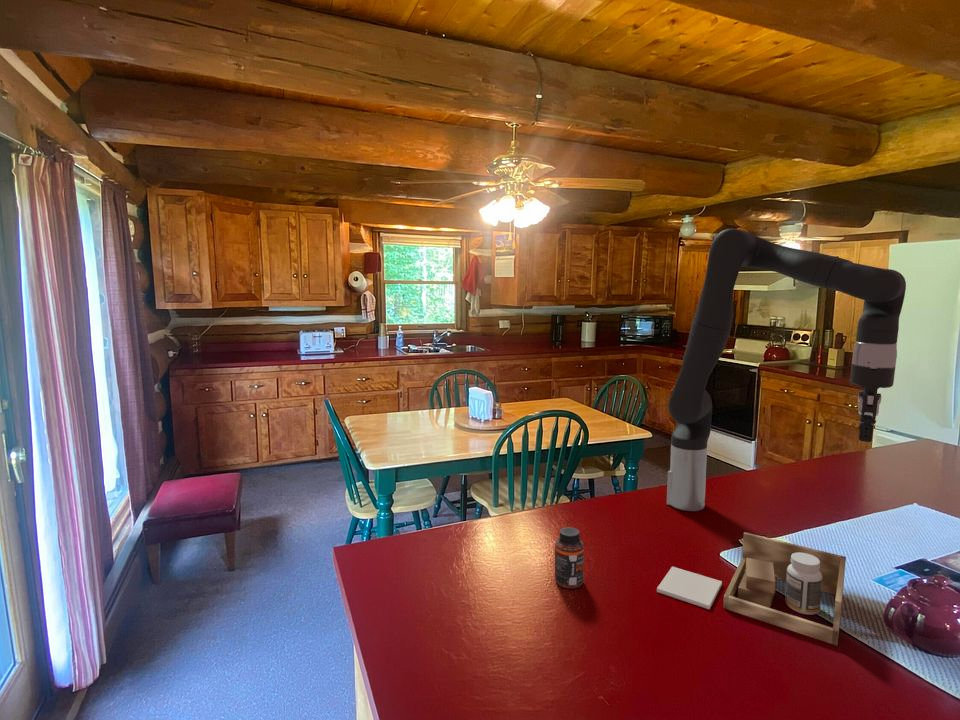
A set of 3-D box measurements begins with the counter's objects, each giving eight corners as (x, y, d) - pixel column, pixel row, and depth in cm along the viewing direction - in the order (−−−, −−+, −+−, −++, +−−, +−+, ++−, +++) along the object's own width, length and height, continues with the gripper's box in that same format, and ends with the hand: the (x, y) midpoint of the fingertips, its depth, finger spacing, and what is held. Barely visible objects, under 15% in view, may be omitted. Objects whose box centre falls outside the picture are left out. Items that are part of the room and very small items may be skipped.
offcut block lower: (737, 601, 102) (738, 587, 101) (746, 580, 109) (747, 567, 108) (769, 611, 98) (770, 597, 98) (776, 589, 105) (777, 575, 105)
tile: (656, 591, 105) (656, 588, 105) (672, 569, 113) (672, 566, 112) (709, 609, 99) (709, 605, 99) (721, 585, 107) (722, 581, 106)
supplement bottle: (581, 592, 105) (581, 540, 103) (552, 587, 107) (552, 535, 105) (585, 577, 110) (586, 527, 109) (558, 572, 113) (558, 523, 111)
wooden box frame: (723, 608, 99) (725, 569, 98) (742, 566, 113) (744, 532, 112) (837, 645, 88) (841, 602, 87) (842, 594, 103) (846, 556, 101)
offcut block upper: (746, 587, 101) (746, 575, 101) (745, 568, 108) (746, 557, 107) (774, 593, 99) (775, 581, 99) (772, 574, 106) (772, 562, 105)
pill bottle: (815, 601, 101) (818, 553, 99) (823, 618, 95) (827, 568, 94) (781, 595, 103) (785, 548, 101) (788, 613, 97) (792, 563, 96)
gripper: (852, 357, 119) (844, 425, 122) (851, 366, 108) (843, 441, 110) (893, 360, 115) (885, 431, 117) (897, 370, 103) (887, 448, 106)
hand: (864, 436), depth 114 cm, fingers open, 8 cm apart
